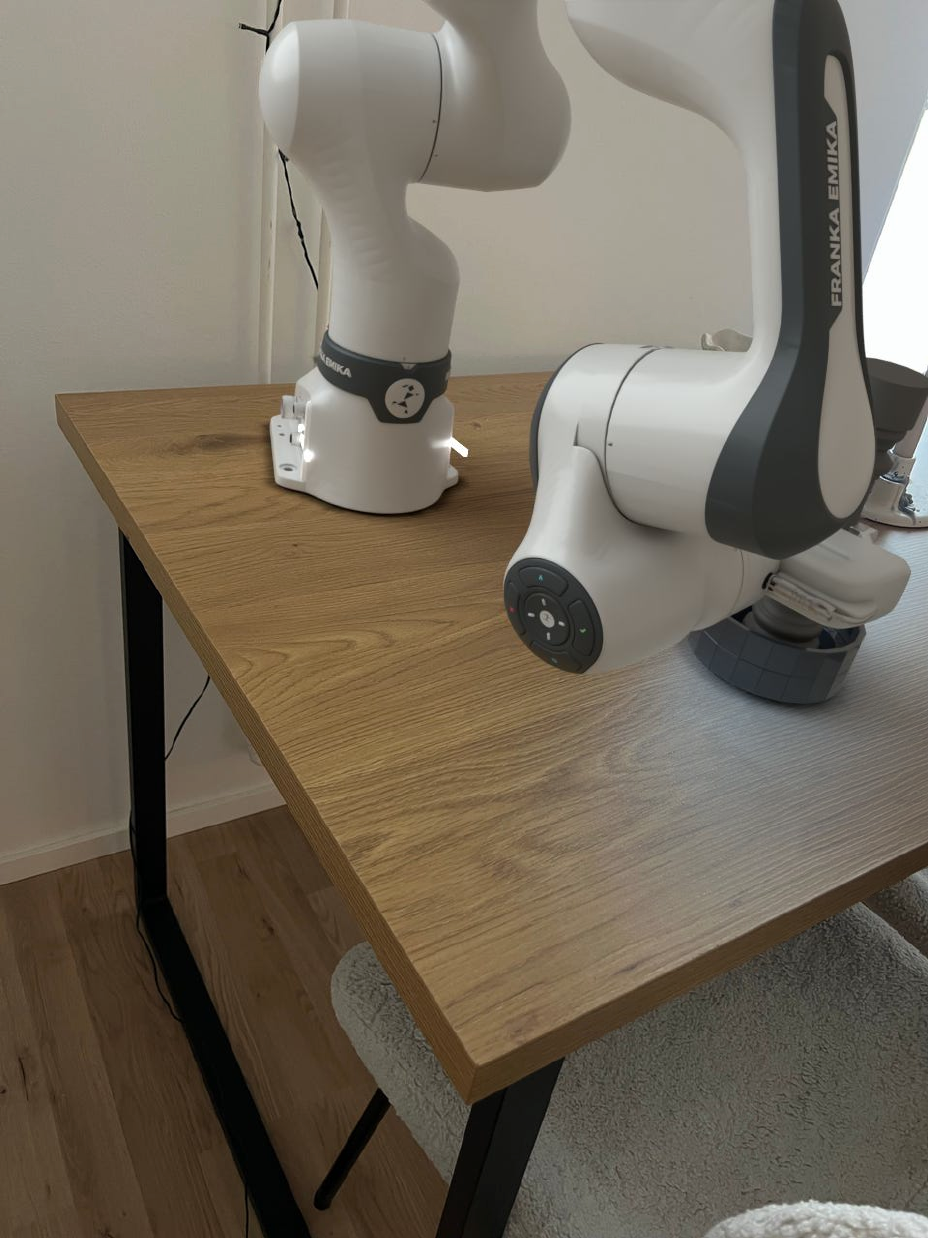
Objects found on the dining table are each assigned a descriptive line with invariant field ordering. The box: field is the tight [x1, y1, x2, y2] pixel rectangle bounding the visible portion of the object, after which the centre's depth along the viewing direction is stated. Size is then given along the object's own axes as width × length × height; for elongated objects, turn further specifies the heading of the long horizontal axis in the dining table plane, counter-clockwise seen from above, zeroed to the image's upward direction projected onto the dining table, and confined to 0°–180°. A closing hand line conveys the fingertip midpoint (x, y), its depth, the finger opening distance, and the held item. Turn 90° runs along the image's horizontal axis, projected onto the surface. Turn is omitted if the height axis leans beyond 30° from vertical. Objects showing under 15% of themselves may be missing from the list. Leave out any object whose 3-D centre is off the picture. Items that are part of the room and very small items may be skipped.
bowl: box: [687, 604, 867, 705], centre depth 83 cm, size 13×13×6 cm
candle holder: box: [742, 356, 928, 649], centre depth 76 cm, size 6×6×25 cm
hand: (807, 507), depth 74 cm, fingers open, 8 cm apart
